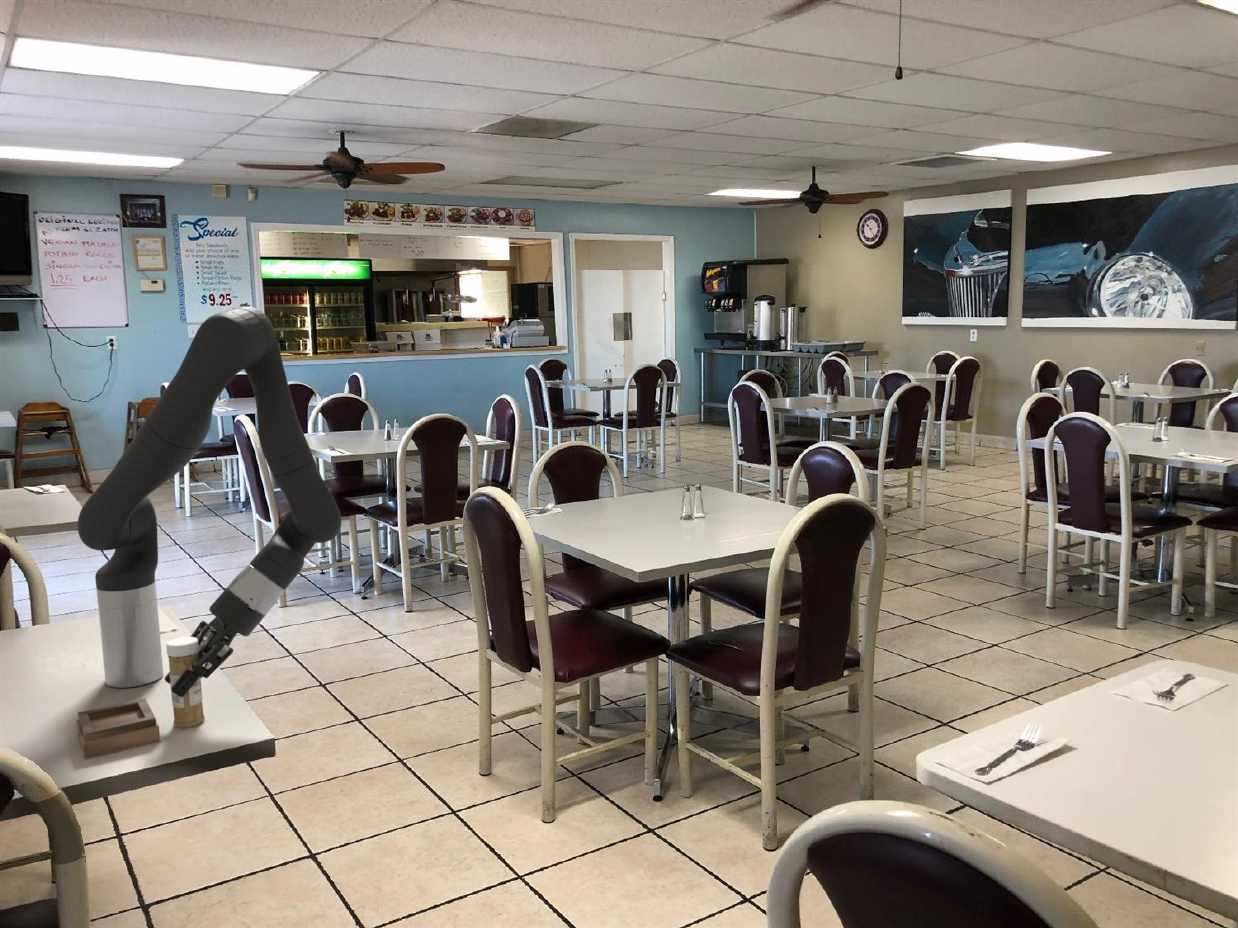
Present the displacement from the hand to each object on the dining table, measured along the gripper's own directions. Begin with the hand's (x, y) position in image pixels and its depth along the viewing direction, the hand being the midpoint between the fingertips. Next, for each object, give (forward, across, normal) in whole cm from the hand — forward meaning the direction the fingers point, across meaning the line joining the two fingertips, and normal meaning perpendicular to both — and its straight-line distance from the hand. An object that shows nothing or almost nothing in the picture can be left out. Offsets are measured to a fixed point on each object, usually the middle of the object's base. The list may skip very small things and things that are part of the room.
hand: (173, 688), depth 152 cm
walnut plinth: (+10, 0, -1) cm, 10 cm away
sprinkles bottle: (+3, 0, +6) cm, 7 cm away
